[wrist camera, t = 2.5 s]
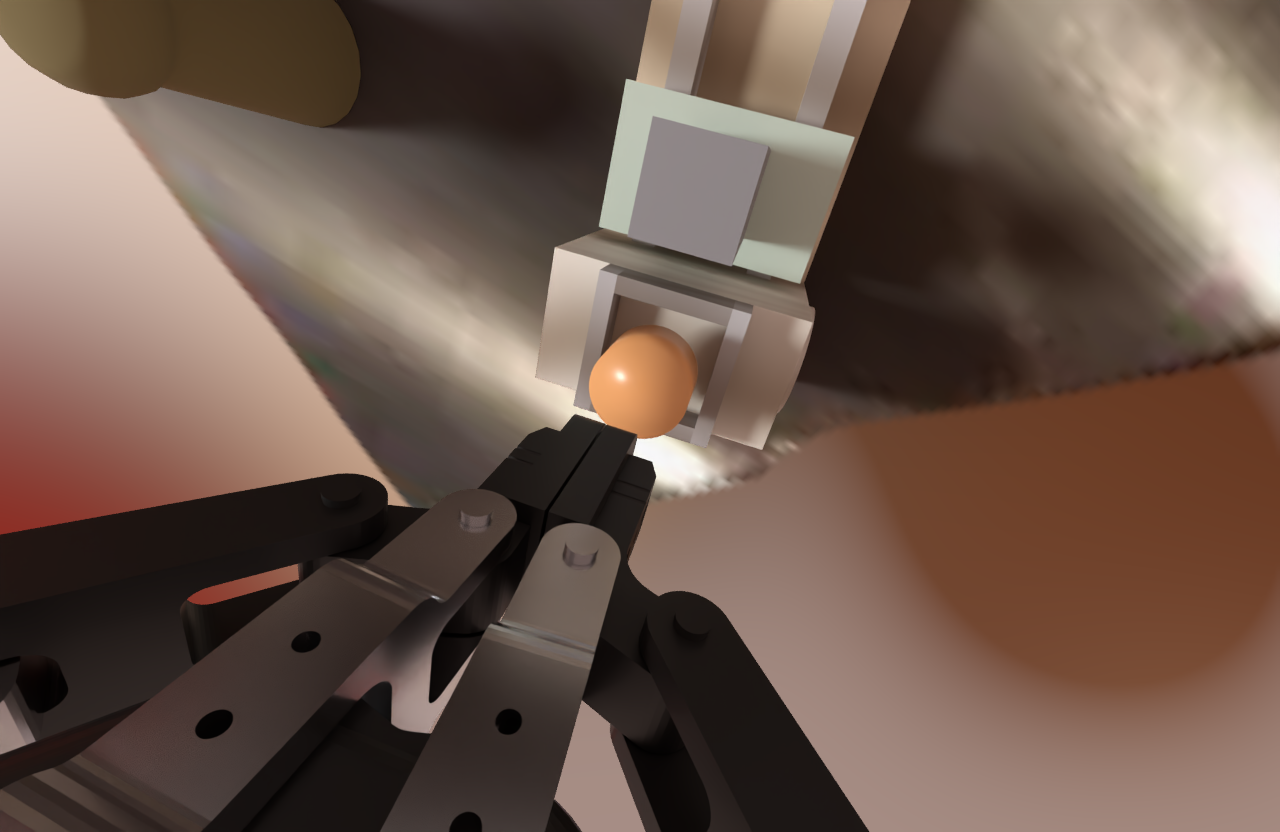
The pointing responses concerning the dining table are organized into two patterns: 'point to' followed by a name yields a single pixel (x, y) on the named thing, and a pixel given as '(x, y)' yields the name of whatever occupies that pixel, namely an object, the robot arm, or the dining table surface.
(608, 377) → the button
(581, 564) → the robot arm
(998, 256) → the dining table surface
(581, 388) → the rail
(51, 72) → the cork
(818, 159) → the carriage
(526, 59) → the dining table surface
